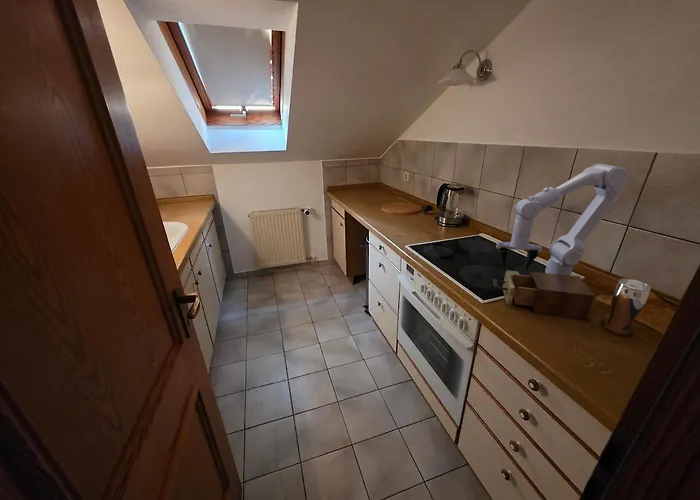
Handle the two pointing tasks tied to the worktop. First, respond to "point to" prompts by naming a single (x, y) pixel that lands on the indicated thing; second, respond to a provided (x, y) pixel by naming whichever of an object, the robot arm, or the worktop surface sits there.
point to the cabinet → (562, 295)
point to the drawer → (518, 289)
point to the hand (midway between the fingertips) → (514, 267)
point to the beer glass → (626, 305)
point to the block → (513, 273)
